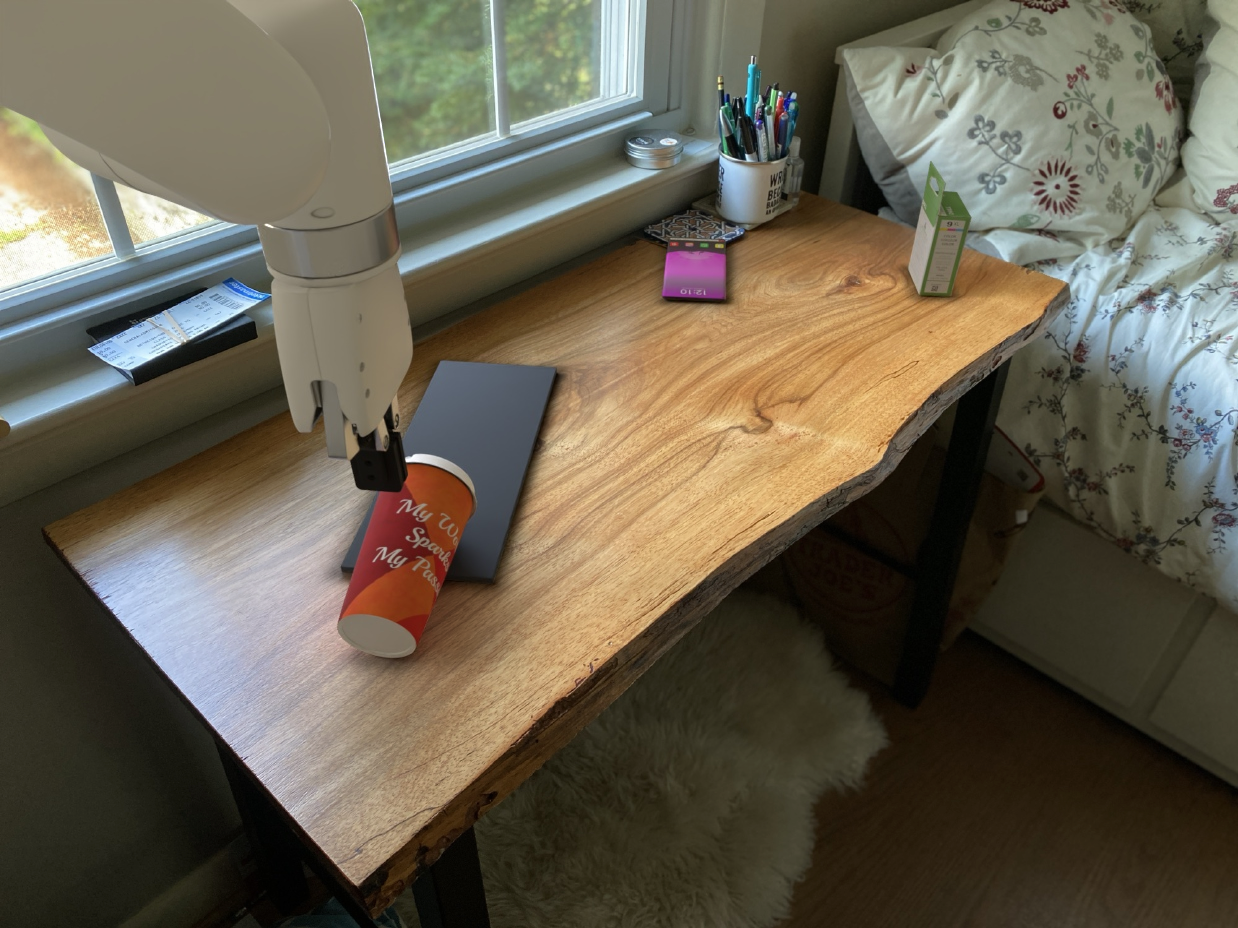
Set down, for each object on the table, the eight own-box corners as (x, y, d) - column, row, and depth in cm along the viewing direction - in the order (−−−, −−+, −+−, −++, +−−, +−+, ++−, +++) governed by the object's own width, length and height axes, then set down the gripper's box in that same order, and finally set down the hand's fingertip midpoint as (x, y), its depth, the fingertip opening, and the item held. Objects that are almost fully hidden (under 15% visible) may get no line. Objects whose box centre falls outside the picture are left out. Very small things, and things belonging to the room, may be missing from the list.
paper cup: (375, 594, 59) (435, 436, 69) (297, 619, 63) (363, 466, 72) (456, 654, 64) (501, 499, 73) (378, 674, 68) (431, 524, 77)
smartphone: (725, 245, 117) (726, 238, 116) (725, 303, 105) (726, 296, 105) (668, 243, 118) (668, 236, 117) (661, 300, 106) (661, 293, 105)
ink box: (953, 298, 106) (981, 184, 98) (917, 297, 107) (942, 183, 98) (940, 270, 112) (965, 160, 104) (906, 269, 112) (929, 159, 104)
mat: (493, 584, 71) (492, 578, 71) (341, 572, 72) (340, 566, 72) (556, 371, 95) (556, 366, 94) (441, 365, 96) (440, 360, 95)
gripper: (314, 180, 59) (365, 417, 70) (206, 293, 47) (288, 555, 58) (430, 185, 58) (462, 423, 69) (350, 301, 46) (404, 564, 58)
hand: (382, 483), depth 64 cm, fingers closed
